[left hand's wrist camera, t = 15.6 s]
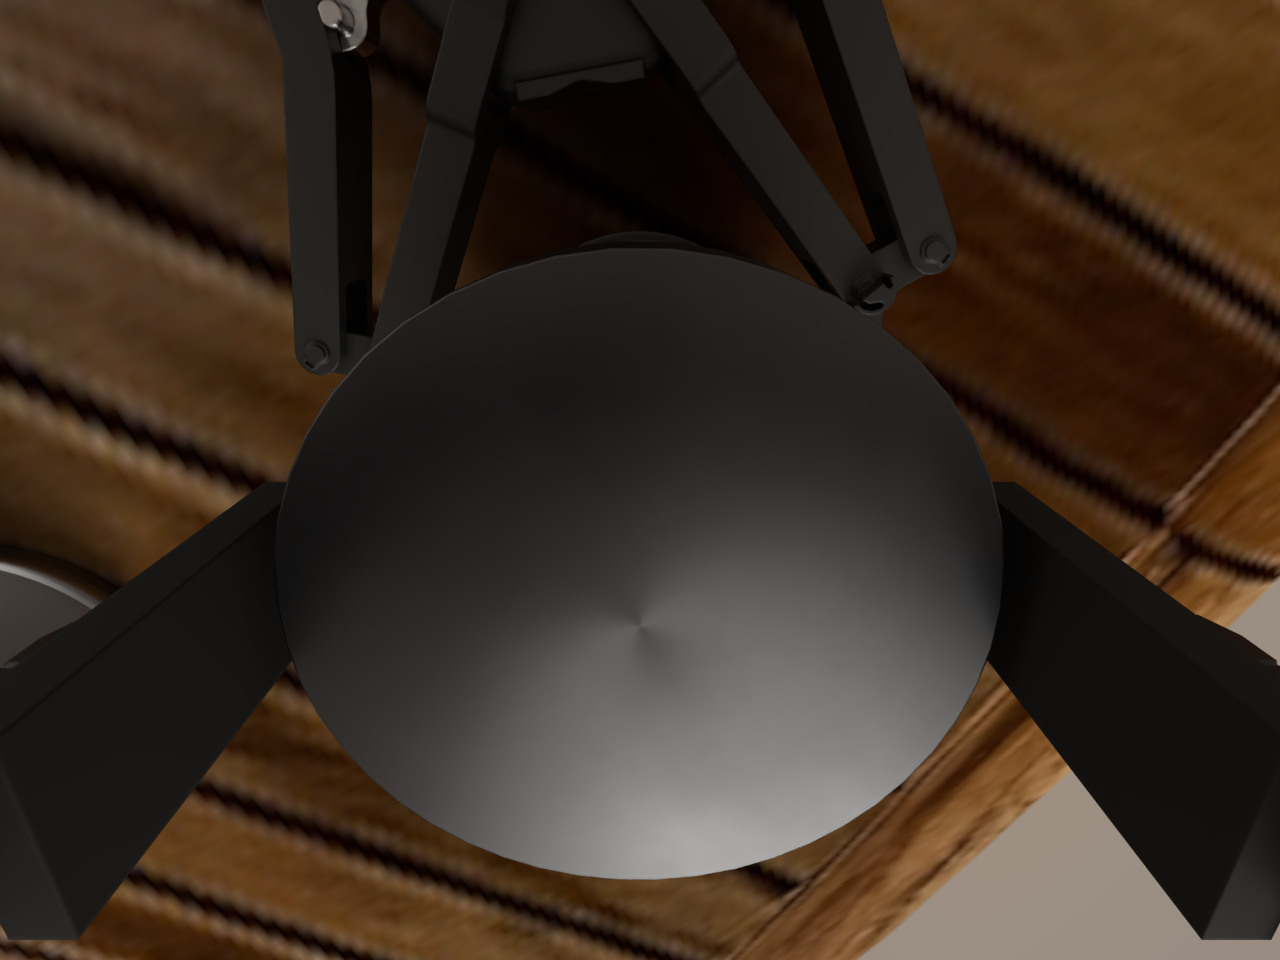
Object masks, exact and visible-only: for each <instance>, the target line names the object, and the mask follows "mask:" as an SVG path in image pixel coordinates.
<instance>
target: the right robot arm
mask: <svg viewBox="0 0 1280 960" xmlns="http://www.w3.org/2000/svg"><path fill="white" fill-rule="evenodd" d="M388 1H389V0H262V3H263V5H264V8H265V11H266V14H267V17H268V20H269V23H270V26H271V28H272V31H273V34H274V37H275V40H276V43H277V46H278V49H279V51H280V54H281V57H282V60H283V83H284V106H285V129H286V153H287V176H288V199H289V223H290V246H291V269H292V292H293V316H294V339H295V353H296V357H297V360H298V361H299V363H300V364H301V366H302V367H303V368H305V369H306V370H307V371H308V372H310V373H313V374H316V375H327V374H329V373H331V372H333V373H339V374H344V375H347V374H348V373H349V372H350V371H351V370H352V368H353V367H354V366H355V365H356V364H357V363H358V361H359V360H360V359H361V358H362V357H363V356H364V355H365V354H366V353H367V352H368V351H369V350H370V349H372V348H373V347H374V346H375V345H376V344H377V343H379V342H380V341H381V340H382V339H383V338H385V337H386V336H387V335H388V334H389V333H390V332H392V331H393V330H394V329H395V328H396V327H397V326H399V325H400V324H401V323H402V322H403V321H405V320H406V319H408V318H410V317H411V316H413V315H414V314H416V313H418V312H419V311H421V310H422V309H424V308H426V307H427V306H429V305H430V304H432V303H434V302H435V301H437V300H438V299H440V298H442V297H443V296H445V295H446V294H448V293H450V292H452V291H454V289H455V286H456V282H457V279H458V276H459V272H460V269H461V265H462V262H463V258H464V255H465V252H466V248H467V245H468V241H469V238H470V235H471V231H472V228H473V224H474V221H475V218H476V214H477V211H478V207H479V204H480V200H481V197H482V194H483V190H484V187H485V183H486V180H487V177H488V173H489V170H490V166H491V163H492V160H493V156H494V153H495V151H496V149H497V147H498V146H499V144H500V142H501V140H502V138H503V135H504V132H505V129H506V125H507V122H508V118H509V115H510V112H511V108H512V105H514V106H518V107H522V108H527V109H528V110H529V111H530V112H534V111H539V110H545V109H550V108H555V107H559V106H561V105H563V104H565V103H567V102H569V101H571V100H573V99H575V98H577V97H579V96H580V95H582V94H585V93H593V94H602V95H611V96H620V95H625V94H631V93H636V92H642V91H645V86H646V85H648V84H650V83H652V82H653V81H655V80H656V79H657V78H659V77H660V76H662V77H663V79H664V80H665V81H666V83H667V84H668V86H669V87H670V88H671V90H672V91H673V92H674V94H675V95H676V97H677V98H678V99H679V101H680V102H681V103H682V104H683V106H684V107H685V108H686V109H687V110H688V111H689V112H690V113H691V114H692V115H693V116H694V117H695V119H696V120H697V121H698V123H699V124H700V125H701V127H702V128H703V129H704V131H705V132H706V133H707V135H708V136H709V138H710V139H711V140H712V142H713V143H714V144H715V146H716V147H717V149H718V150H719V151H720V153H721V154H722V155H723V157H724V158H725V159H726V161H727V162H728V164H729V165H730V166H731V168H732V169H733V170H734V172H735V173H736V174H737V176H738V177H739V179H740V180H741V181H742V183H743V184H744V185H745V187H746V188H747V190H748V191H749V192H750V194H751V195H752V196H753V198H754V199H755V200H756V202H757V203H758V205H759V206H760V207H761V209H762V210H763V211H764V213H765V214H766V216H767V217H768V218H769V220H770V221H771V222H772V224H773V225H774V226H775V228H776V229H777V231H778V232H779V233H780V235H781V236H782V237H783V239H784V240H785V242H786V243H787V244H788V246H789V247H790V248H791V250H792V251H793V252H794V254H795V255H796V257H797V258H798V259H799V261H800V262H801V263H802V265H803V266H804V268H805V269H806V270H807V272H808V273H809V274H810V276H811V277H812V278H813V280H814V281H815V283H816V284H817V285H818V287H819V288H820V289H822V290H824V291H826V292H828V293H830V294H833V295H835V296H836V297H838V298H839V299H841V300H842V301H844V302H845V303H847V304H849V305H850V306H852V307H853V308H855V309H856V310H858V311H859V312H861V313H862V314H864V315H866V316H867V317H869V318H870V319H872V320H873V321H875V322H876V323H878V324H879V325H881V326H882V327H883V321H882V318H883V312H884V311H886V310H887V309H888V308H889V307H890V306H891V305H892V304H893V303H894V300H895V298H896V295H897V290H899V289H900V288H902V287H904V286H905V285H907V284H909V283H911V282H913V281H915V280H917V279H918V278H920V277H922V276H924V275H926V274H929V275H933V274H937V273H940V272H942V271H943V270H945V269H946V268H947V267H949V265H950V264H951V263H952V261H953V260H954V258H955V255H956V251H957V242H956V237H955V234H954V231H953V227H952V224H951V221H950V218H949V215H948V211H947V208H946V205H945V202H944V199H943V195H942V192H941V189H940V186H939V183H938V179H937V176H936V173H935V170H934V166H933V163H932V160H931V157H930V154H929V150H928V147H927V144H926V141H925V138H924V134H923V131H922V128H921V125H920V122H919V118H918V115H917V112H916V109H915V106H914V102H913V99H912V96H911V93H910V90H909V86H908V83H907V80H906V77H905V74H904V70H903V67H902V64H901V61H900V58H899V54H898V51H897V48H896V45H895V42H894V38H893V35H892V32H891V29H890V26H889V22H888V19H887V16H886V13H885V10H884V6H883V3H882V0H793V5H794V9H795V12H796V16H797V19H798V23H799V26H800V29H801V32H802V34H803V37H804V40H805V43H806V46H807V49H808V51H809V54H810V57H811V60H812V63H813V65H814V68H815V71H816V74H817V77H818V80H819V82H820V85H821V88H822V91H823V94H824V97H825V99H826V102H827V105H828V108H829V111H830V114H831V116H832V119H833V122H834V125H835V128H836V130H837V133H838V136H839V139H840V142H841V145H842V147H843V150H844V153H845V156H846V159H847V162H848V164H849V167H850V170H851V173H852V176H853V178H854V181H855V184H856V187H857V190H858V193H859V195H860V198H861V201H862V204H863V207H864V210H865V212H866V215H867V218H868V221H869V224H870V226H871V229H872V232H873V235H874V238H875V240H874V241H873V242H871V243H869V244H867V245H865V244H864V243H863V241H862V240H861V238H860V237H859V236H858V234H857V233H856V231H855V230H854V228H853V227H852V225H851V224H850V223H849V221H848V220H847V218H846V217H845V215H844V214H843V212H842V211H841V210H840V208H839V207H838V205H837V204H836V202H835V201H834V199H833V198H832V197H831V195H830V194H829V192H828V191H827V189H826V188H825V186H824V185H823V184H822V182H821V181H820V179H819V178H818V176H817V175H816V173H815V172H814V171H813V169H812V168H811V166H810V165H809V163H808V162H807V160H806V159H805V157H804V156H803V155H802V153H801V152H800V150H799V149H798V147H797V146H796V144H795V143H794V142H793V140H792V139H791V137H790V136H789V134H788V133H787V131H786V130H785V129H784V127H783V126H782V124H781V123H780V121H779V120H778V118H777V117H776V116H775V114H774V113H773V111H772V110H771V108H770V107H769V105H768V104H767V103H766V101H765V100H764V98H763V97H762V95H761V94H760V92H759V91H758V90H757V88H756V87H755V85H754V84H753V82H752V81H751V79H750V78H749V76H748V75H747V74H746V72H745V71H744V69H743V68H742V66H741V64H740V62H739V59H738V56H737V54H736V51H735V49H734V47H733V45H732V44H731V42H730V41H729V39H728V37H727V36H726V35H725V33H724V32H723V30H722V29H721V27H720V26H719V24H718V23H717V21H716V20H715V19H714V17H713V16H712V14H711V13H710V11H709V10H708V8H707V7H706V5H705V4H704V3H703V1H702V0H402V1H403V2H404V3H405V4H406V5H407V6H408V8H409V9H410V10H411V11H412V12H413V13H414V14H415V15H416V16H417V17H418V18H419V19H420V20H421V21H422V22H423V23H424V24H425V25H426V26H427V27H428V28H429V30H430V31H431V32H432V33H433V34H434V35H435V36H436V37H437V38H438V39H439V40H440V41H441V45H440V49H439V53H438V57H437V61H436V65H435V68H434V72H433V76H432V80H431V84H430V88H429V92H428V97H427V102H426V116H427V126H426V131H425V135H424V139H423V143H422V146H421V150H420V154H419V158H418V162H417V166H416V170H415V174H414V178H413V182H412V185H411V189H410V193H409V197H408V201H407V205H406V209H405V213H404V217H403V221H402V225H401V228H400V232H399V236H398V240H397V244H396V248H395V252H394V256H393V260H392V264H391V267H390V271H389V275H388V279H387V283H386V287H385V291H384V295H383V299H382V303H381V306H380V310H379V314H378V318H377V322H376V326H372V96H371V83H370V77H369V70H368V65H367V61H366V56H368V55H371V54H372V53H373V52H374V51H375V50H376V48H377V46H378V45H379V41H380V36H381V34H380V15H381V11H382V9H383V7H384V5H385V3H386V2H388Z"/></svg>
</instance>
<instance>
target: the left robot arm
mask: <svg viewBox="0 0 1280 960" xmlns="http://www.w3.org/2000/svg"><path fill="white" fill-rule="evenodd" d="M286 483H287V482H265V483H263V484H262V485H260V486H259V487H258V488H256V489H255V490H254V491H252V492H251V493H250V494H248V495H247V496H245V497H244V498H243V499H241V500H240V501H239V502H237V503H236V504H235V505H233V506H232V507H230V508H229V509H228V510H226V511H225V512H224V513H222V514H221V515H220V516H218V517H217V518H215V519H214V520H213V521H211V522H210V523H209V524H207V525H206V526H205V527H203V528H202V529H200V530H199V531H198V532H196V533H195V534H194V535H192V536H191V537H190V538H188V539H187V540H185V541H184V542H183V543H181V544H180V545H179V546H177V547H176V548H175V549H173V550H172V551H170V552H169V553H168V554H166V555H165V556H164V557H162V558H161V559H160V560H158V561H157V562H155V563H154V564H153V565H151V566H150V567H149V568H147V569H146V570H145V571H143V572H142V573H141V574H139V575H138V576H136V577H135V578H134V579H132V580H131V581H130V582H128V583H127V584H126V585H124V586H123V587H121V588H120V589H119V590H117V589H116V588H114V587H113V586H111V585H109V584H107V583H106V582H104V581H102V580H101V579H99V578H97V577H95V576H93V575H91V574H89V573H87V572H85V571H83V570H81V569H79V568H77V567H74V566H72V565H70V564H67V563H65V562H62V561H59V560H56V559H54V558H51V557H48V556H45V555H41V554H37V553H33V552H29V551H25V550H19V549H14V548H8V547H0V923H1V925H2V927H3V929H4V931H5V933H6V935H7V937H8V939H9V940H78V939H79V938H80V937H81V936H82V934H83V933H84V932H85V930H86V929H87V928H88V926H89V925H90V924H91V922H92V921H93V920H94V919H95V917H96V916H97V915H98V913H99V912H100V911H101V909H102V908H103V907H104V906H105V904H106V903H107V902H108V900H109V899H110V898H111V896H112V895H113V894H114V892H115V891H116V890H117V889H118V887H119V886H120V885H121V883H122V882H123V881H124V879H125V878H126V877H127V876H128V874H129V873H130V872H131V870H132V869H133V868H134V866H135V865H136V864H137V862H138V861H139V860H140V859H141V857H142V856H143V855H144V853H145V852H146V851H147V849H148V848H149V847H150V846H151V844H152V843H153V842H154V840H155V839H156V838H157V836H158V835H159V834H160V832H161V831H162V830H163V829H164V827H165V826H166V825H167V823H168V822H169V821H170V819H171V818H172V817H173V816H174V814H175V813H176V812H177V810H178V809H179V808H180V806H181V805H182V804H183V802H184V801H185V800H186V799H187V797H188V796H189V795H190V793H191V792H192V791H193V789H194V788H195V787H196V786H197V784H198V783H199V782H200V780H201V779H202V778H203V776H204V775H205V774H206V772H207V771H208V770H209V769H210V767H211V766H212V765H213V763H214V762H215V761H216V759H217V758H218V757H219V756H220V754H221V753H222V752H223V750H224V749H225V748H226V746H227V745H228V744H229V742H230V741H231V740H232V739H233V737H234V736H235V735H236V733H237V732H238V731H239V729H240V728H241V727H242V725H243V724H244V723H245V722H246V720H247V719H248V718H249V716H250V715H251V714H252V712H253V711H254V710H255V709H256V707H257V706H258V705H259V703H260V702H261V701H262V699H263V698H264V697H265V695H266V694H267V693H268V692H269V690H270V689H271V688H272V686H273V685H274V684H275V682H276V681H277V680H278V679H279V677H280V676H281V675H282V673H283V672H284V671H285V669H286V668H287V667H288V665H289V664H290V663H291V662H292V658H291V656H290V653H289V650H288V648H287V645H286V642H285V637H284V633H283V628H282V624H281V619H280V615H279V610H278V606H277V597H276V582H275V568H274V557H275V545H276V534H277V522H278V516H279V512H280V508H281V503H282V499H283V495H284V491H285V487H286ZM992 483H993V487H994V492H995V496H996V500H997V505H998V509H999V513H1000V518H1001V522H1002V534H1003V549H1004V563H1005V569H1004V581H1003V593H1002V604H1001V611H1000V615H999V619H998V623H997V628H996V632H995V636H994V640H993V644H992V648H991V651H990V653H989V656H988V658H987V660H988V662H989V663H990V664H991V665H992V667H993V668H994V669H995V671H996V672H997V673H998V675H999V676H1000V677H1001V679H1002V680H1003V681H1004V682H1005V684H1006V685H1007V686H1008V688H1009V689H1010V690H1011V692H1012V693H1013V694H1014V695H1015V697H1016V698H1017V699H1018V701H1019V702H1020V703H1021V705H1022V706H1023V707H1024V709H1025V710H1026V711H1027V712H1028V714H1029V715H1030V716H1031V718H1032V719H1033V720H1034V722H1035V723H1036V724H1037V725H1038V727H1039V728H1040V729H1041V731H1042V732H1043V733H1044V735H1045V736H1046V737H1047V739H1048V740H1049V741H1050V742H1051V744H1052V745H1053V746H1054V748H1055V749H1056V750H1057V752H1058V753H1059V754H1060V756H1061V757H1062V758H1063V759H1064V761H1065V762H1066V763H1067V765H1068V766H1069V767H1070V769H1071V770H1072V771H1073V772H1074V774H1075V775H1076V776H1077V778H1078V779H1079V780H1080V782H1081V783H1082V784H1083V785H1084V787H1085V788H1086V789H1087V791H1088V792H1089V793H1090V795H1091V796H1092V797H1093V799H1094V800H1095V801H1096V802H1097V804H1098V805H1099V806H1100V808H1101V809H1102V810H1103V812H1104V813H1105V814H1106V816H1107V817H1108V818H1109V819H1110V821H1111V822H1112V823H1113V825H1114V826H1115V827H1116V829H1117V830H1118V831H1119V832H1120V834H1121V835H1122V836H1123V838H1124V839H1125V840H1126V842H1127V843H1128V844H1129V845H1130V847H1131V848H1132V849H1133V851H1134V852H1135V853H1136V855H1137V856H1138V857H1139V859H1140V860H1141V861H1142V862H1143V864H1144V865H1145V866H1146V868H1147V869H1148V870H1149V872H1150V873H1151V874H1152V876H1153V877H1154V878H1155V879H1156V881H1157V882H1158V883H1159V885H1160V886H1161V887H1162V889H1163V890H1164V891H1165V892H1166V894H1167V895H1168V896H1169V898H1170V899H1171V900H1172V902H1173V903H1174V904H1175V906H1176V907H1177V908H1178V909H1179V911H1180V912H1181V913H1182V915H1183V916H1184V917H1185V918H1186V920H1187V921H1188V922H1189V924H1190V925H1191V926H1192V928H1193V929H1194V930H1195V932H1196V933H1197V934H1198V936H1199V937H1200V938H1201V939H1202V940H1271V939H1272V937H1273V935H1274V933H1275V931H1276V929H1277V927H1278V925H1279V923H1280V666H1278V665H1277V660H1275V659H1274V658H1272V657H1271V656H1270V655H1268V654H1267V653H1265V652H1264V651H1262V650H1261V649H1260V648H1258V647H1257V646H1256V645H1254V644H1253V643H1251V642H1250V641H1249V640H1247V639H1246V638H1244V637H1243V636H1241V635H1239V634H1237V633H1235V632H1233V631H1231V630H1229V629H1227V628H1225V627H1222V626H1220V625H1218V624H1216V623H1214V622H1212V621H1210V620H1208V619H1206V618H1204V617H1202V616H1200V615H1195V614H1194V613H1193V612H1191V611H1190V610H1189V609H1187V608H1186V607H1184V606H1183V605H1182V604H1180V603H1179V602H1178V601H1176V600H1175V599H1174V598H1172V597H1171V596H1169V595H1168V594H1167V593H1165V592H1164V591H1163V590H1161V589H1160V588H1159V587H1157V586H1156V585H1154V584H1153V583H1152V582H1150V581H1149V580H1148V579H1146V578H1145V577H1144V576H1142V575H1141V574H1139V573H1138V572H1137V571H1135V570H1134V569H1133V568H1131V567H1130V566H1129V565H1127V564H1126V563H1125V562H1123V561H1122V560H1120V559H1119V558H1118V557H1116V556H1115V555H1114V554H1112V553H1111V552H1110V551H1108V550H1107V549H1105V548H1104V547H1103V546H1101V545H1100V544H1099V543H1097V542H1096V541H1095V540H1093V539H1092V538H1090V537H1089V536H1088V535H1086V534H1085V533H1084V532H1082V531H1081V530H1080V529H1078V528H1077V527H1075V526H1074V525H1073V524H1071V523H1070V522H1069V521H1067V520H1066V519H1065V518H1063V517H1062V516H1060V515H1059V514H1058V513H1056V512H1055V511H1054V510H1052V509H1051V508H1050V507H1048V506H1047V505H1045V504H1044V503H1043V502H1041V501H1040V500H1039V499H1037V498H1036V497H1035V496H1033V495H1032V494H1030V493H1029V492H1028V491H1026V490H1025V489H1024V488H1022V487H1021V486H1020V485H1018V484H1017V483H1015V482H992Z"/></svg>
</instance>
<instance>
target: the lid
mask: <svg viewBox="0 0 1280 960" xmlns="http://www.w3.org/2000/svg"><path fill="white" fill-rule="evenodd" d="M274 568H275V582H276V597H277V606H278V610H279V615H280V619H281V624H282V628H283V633H284V637H285V642H286V645H287V648H288V650H289V653H290V656H291V658H292V661H293V664H294V666H295V669H296V671H297V674H298V677H299V679H300V682H301V684H302V685H303V687H304V689H305V691H306V693H307V695H308V696H309V698H310V700H311V702H312V704H313V706H314V707H315V709H316V711H317V713H318V715H319V716H320V718H321V719H322V721H323V722H324V723H325V725H326V726H327V727H328V729H329V730H330V732H331V733H332V734H333V736H334V737H335V738H336V740H337V741H338V743H339V744H340V745H341V747H342V748H343V749H344V750H345V751H346V752H347V753H348V754H349V755H350V757H351V758H352V759H353V760H354V761H355V762H356V763H357V764H358V765H359V766H360V767H361V768H362V769H363V770H364V772H365V773H366V774H367V775H368V776H369V777H370V778H371V779H373V780H374V781H375V782H376V783H377V784H379V785H380V786H381V787H382V788H383V789H384V790H386V791H387V792H388V793H389V794H390V795H392V796H393V797H394V798H395V799H396V800H397V801H399V802H400V803H401V804H403V805H404V806H406V807H407V808H409V809H410V810H412V811H413V812H415V813H416V814H418V815H419V816H421V817H422V818H424V819H425V820H427V821H428V822H430V823H431V824H433V825H435V826H437V827H438V828H440V829H442V830H444V831H446V832H448V833H450V834H452V835H454V836H455V837H457V838H459V839H461V840H463V841H465V842H467V843H469V844H472V845H474V846H477V847H479V848H482V849H484V850H487V851H489V852H492V853H494V854H496V855H499V856H501V857H504V858H508V859H511V860H514V861H518V862H521V863H525V864H528V865H531V866H535V867H538V868H542V869H547V870H552V871H558V872H563V873H568V874H573V875H578V876H588V877H598V878H608V879H624V880H659V879H670V878H681V877H693V876H700V875H705V874H711V873H716V872H722V871H727V870H732V869H737V868H740V867H744V866H747V865H751V864H754V863H758V862H761V861H765V860H768V859H772V858H775V857H777V856H780V855H782V854H785V853H787V852H790V851H792V850H795V849H797V848H800V847H802V846H805V845H808V844H810V843H812V842H814V841H816V840H818V839H819V838H821V837H823V836H825V835H827V834H829V833H831V832H833V831H835V830H837V829H839V828H841V827H843V826H844V825H846V824H848V823H849V822H851V821H852V820H854V819H855V818H857V817H858V816H860V815H861V814H863V813H864V812H866V811H867V810H869V809H870V808H872V807H873V806H875V805H876V804H878V803H879V802H880V801H881V800H882V799H884V798H885V797H886V796H887V795H889V794H890V793H891V792H892V791H893V790H895V789H896V788H897V787H898V786H899V785H901V784H902V783H903V782H904V781H905V780H907V779H908V778H909V777H910V775H911V774H912V773H913V772H914V771H915V770H916V769H917V768H918V767H919V766H920V765H921V764H922V763H923V762H924V761H925V760H926V759H927V758H928V757H929V756H930V755H931V754H932V752H933V751H934V750H935V749H936V748H937V746H938V745H939V744H940V742H941V741H942V739H943V738H944V737H945V735H946V734H947V733H948V731H949V730H950V729H951V727H952V726H953V725H954V723H955V722H956V721H957V719H958V718H959V716H960V714H961V712H962V711H963V709H964V707H965V705H966V703H967V702H968V700H969V698H970V696H971V695H972V693H973V691H974V689H975V687H976V686H977V684H978V681H979V678H980V676H981V673H982V671H983V668H984V666H985V663H986V661H987V658H988V656H989V653H990V651H991V648H992V644H993V640H994V636H995V632H996V628H997V623H998V619H999V615H1000V611H1001V604H1002V593H1003V581H1004V569H1005V563H1004V549H1003V534H1002V522H1001V518H1000V513H999V509H998V505H997V500H996V496H995V492H994V487H993V483H992V479H991V477H990V474H989V472H988V469H987V467H986V464H985V462H984V459H983V457H982V454H981V452H980V449H979V447H978V444H977V442H976V440H975V437H974V435H973V434H972V432H971V430H970V429H969V427H968V425H967V424H966V422H965V421H964V419H963V417H962V416H961V414H960V412H959V411H958V409H957V407H956V406H955V404H954V402H953V401H952V399H951V397H950V396H949V395H948V393H947V392H946V391H945V390H944V389H943V388H942V386H941V385H940V384H939V383H938V382H937V380H936V379H935V378H934V377H933V376H932V374H931V373H930V372H929V371H928V370H927V368H926V367H925V366H924V365H923V364H922V362H921V361H920V360H919V359H918V358H917V357H916V356H915V355H914V354H913V353H911V352H910V351H909V350H908V349H907V348H906V347H905V346H903V345H902V344H901V343H900V342H899V341H898V340H897V339H895V338H894V337H893V336H892V335H891V334H890V333H889V332H887V331H886V330H885V329H884V328H883V327H882V326H881V325H879V324H878V323H876V322H875V321H873V320H872V319H870V318H869V317H867V316H866V315H864V314H862V313H861V312H859V311H858V310H856V309H855V308H853V307H852V306H850V305H849V304H847V303H845V302H844V301H842V300H841V299H839V298H838V297H836V296H835V295H833V294H830V293H828V292H826V291H824V290H822V289H819V288H817V287H815V286H813V285H811V284H808V283H806V282H804V281H802V280H800V279H797V278H795V277H793V276H791V275H789V274H786V273H784V272H782V271H780V270H778V269H775V268H773V267H771V266H769V265H767V264H764V263H762V262H759V261H755V260H752V259H748V258H745V257H742V256H738V255H735V254H731V253H728V252H725V251H721V250H718V249H713V248H706V247H699V246H693V245H686V244H679V243H672V242H639V241H616V242H608V243H601V244H593V245H586V246H578V247H571V248H566V249H562V250H559V251H555V252H551V253H548V254H544V255H541V256H537V257H533V258H530V259H526V260H523V261H520V262H517V263H515V264H513V265H511V266H508V267H506V268H504V269H501V270H499V271H497V272H495V273H492V274H490V275H488V276H485V277H483V278H481V279H479V280H476V281H474V282H472V283H470V284H467V285H465V286H463V287H461V288H459V289H456V290H454V291H452V292H450V293H448V294H446V295H445V296H443V297H442V298H440V299H438V300H437V301H435V302H434V303H432V304H430V305H429V306H427V307H426V308H424V309H422V310H421V311H419V312H418V313H416V314H414V315H413V316H411V317H410V318H408V319H406V320H405V321H403V322H402V323H401V324H400V325H399V326H397V327H396V328H395V329H394V330H393V331H392V332H390V333H389V334H388V335H387V336H386V337H385V338H383V339H382V340H381V341H380V342H379V343H377V344H376V345H375V346H374V347H373V348H372V349H370V350H369V351H368V352H367V353H366V354H365V355H364V356H363V357H362V358H361V359H360V360H359V361H358V363H357V364H356V365H355V366H354V367H353V368H352V370H351V371H350V372H349V373H348V374H347V375H346V376H345V378H344V379H343V380H342V381H341V382H340V383H339V385H338V386H337V387H336V388H335V389H334V390H333V391H332V393H331V394H330V396H329V398H328V399H327V401H326V402H325V404H324V406H323V407H322V409H321V410H320V412H319V414H318V415H317V417H316V418H315V420H314V422H313V423H312V425H311V426H310V428H309V430H308V431H307V433H306V435H305V437H304V440H303V442H302V444H301V447H300V449H299V452H298V454H297V456H296V459H295V461H294V463H293V466H292V468H291V470H290V473H289V475H288V479H287V483H286V487H285V491H284V495H283V499H282V503H281V508H280V512H279V516H278V522H277V534H276V545H275V557H274Z"/></svg>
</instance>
